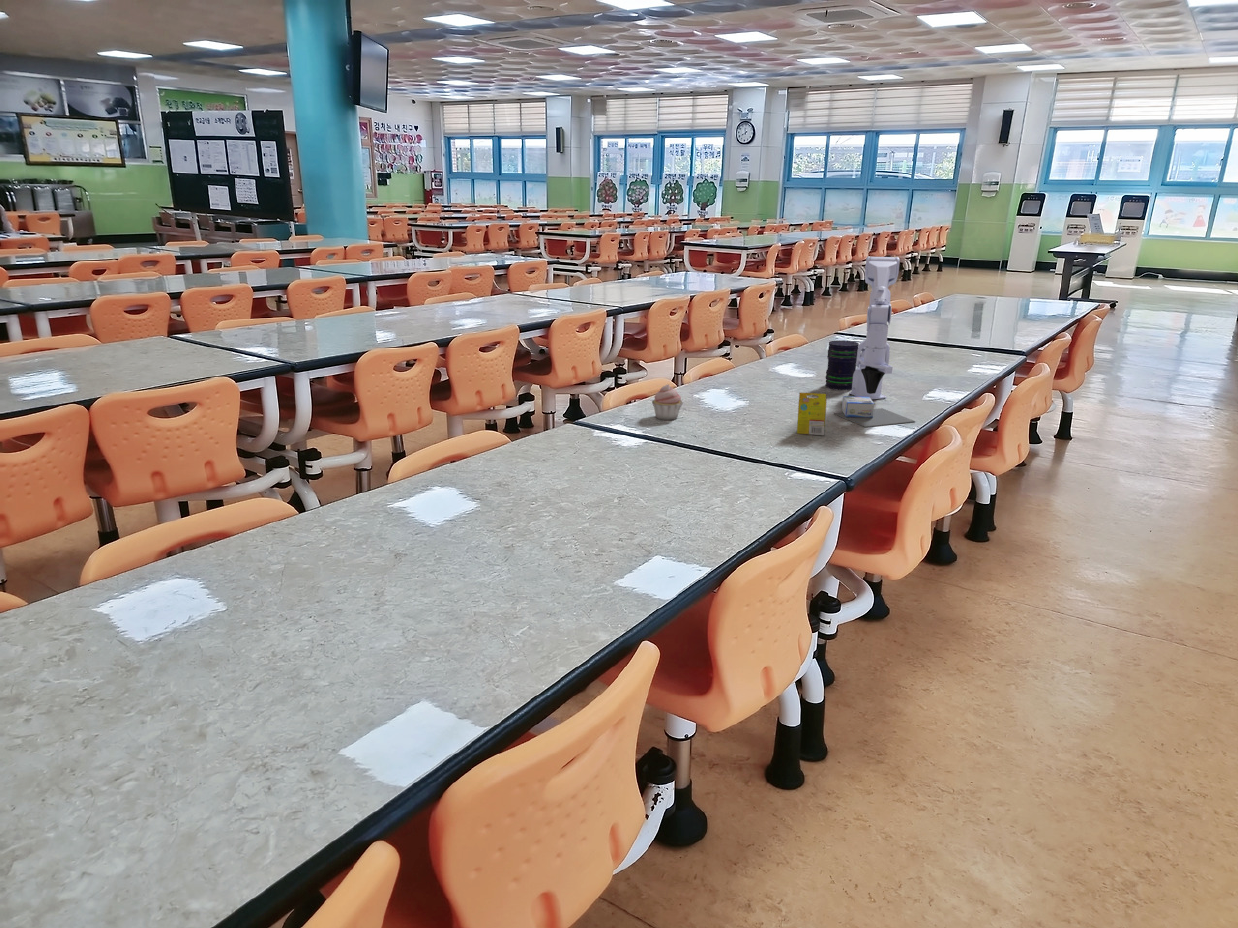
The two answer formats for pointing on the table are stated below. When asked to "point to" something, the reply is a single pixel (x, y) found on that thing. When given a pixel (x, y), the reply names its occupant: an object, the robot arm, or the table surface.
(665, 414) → the cupcake
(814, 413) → the crayon box
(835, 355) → the storage jar
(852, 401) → the medicine box
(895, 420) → the mat
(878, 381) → the robot arm
